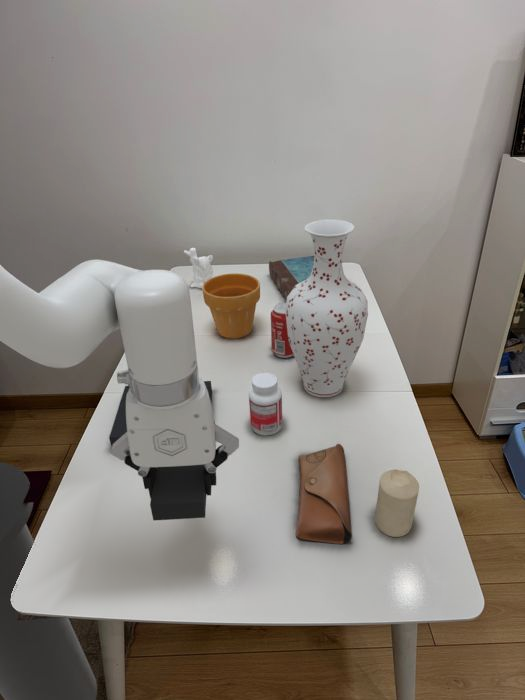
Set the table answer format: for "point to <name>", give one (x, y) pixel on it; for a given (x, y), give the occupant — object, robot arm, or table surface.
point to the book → (290, 272)
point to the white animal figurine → (200, 268)
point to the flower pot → (232, 303)
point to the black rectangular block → (178, 493)
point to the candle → (396, 502)
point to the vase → (326, 313)
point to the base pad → (120, 419)
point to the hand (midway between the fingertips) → (181, 487)
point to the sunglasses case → (324, 497)
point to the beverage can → (280, 332)
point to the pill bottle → (265, 404)
